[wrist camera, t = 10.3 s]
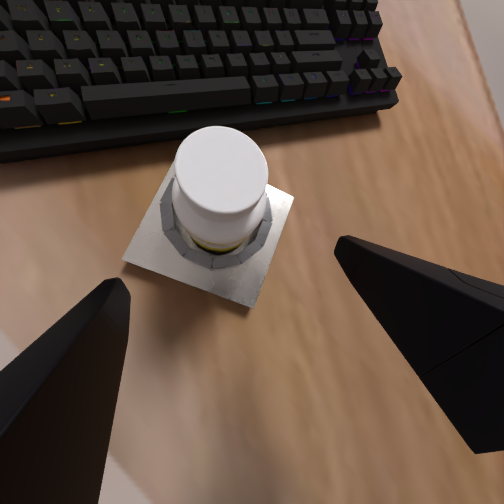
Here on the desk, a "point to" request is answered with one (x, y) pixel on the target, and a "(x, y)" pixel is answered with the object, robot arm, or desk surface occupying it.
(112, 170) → the desk surface
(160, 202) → the cup bracket
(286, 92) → the keyboard
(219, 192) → the supplement bottle
